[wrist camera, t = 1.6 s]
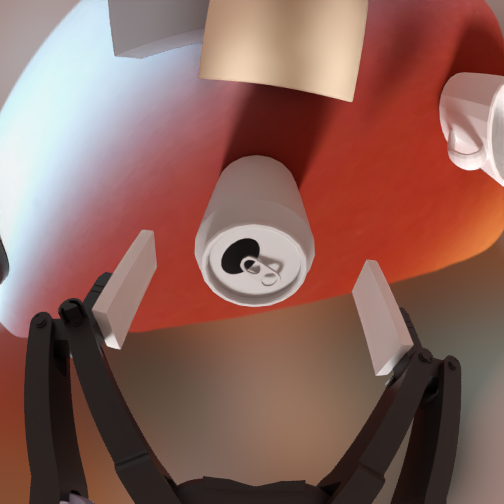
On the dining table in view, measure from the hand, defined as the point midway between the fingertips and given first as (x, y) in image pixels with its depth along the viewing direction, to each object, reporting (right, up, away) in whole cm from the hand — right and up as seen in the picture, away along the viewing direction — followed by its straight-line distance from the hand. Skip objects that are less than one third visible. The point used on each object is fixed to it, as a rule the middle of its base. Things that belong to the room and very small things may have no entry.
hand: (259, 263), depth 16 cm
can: (0, +7, +9) cm, 11 cm away
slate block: (-7, +21, -1) cm, 22 cm away
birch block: (+2, +19, 0) cm, 19 cm away
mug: (+21, +15, +3) cm, 26 cm away
